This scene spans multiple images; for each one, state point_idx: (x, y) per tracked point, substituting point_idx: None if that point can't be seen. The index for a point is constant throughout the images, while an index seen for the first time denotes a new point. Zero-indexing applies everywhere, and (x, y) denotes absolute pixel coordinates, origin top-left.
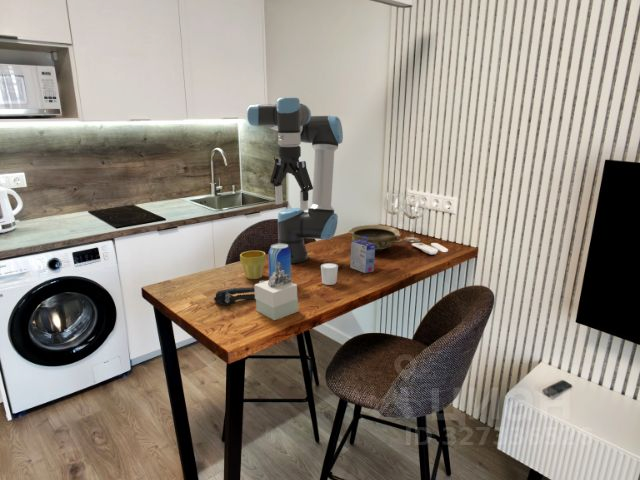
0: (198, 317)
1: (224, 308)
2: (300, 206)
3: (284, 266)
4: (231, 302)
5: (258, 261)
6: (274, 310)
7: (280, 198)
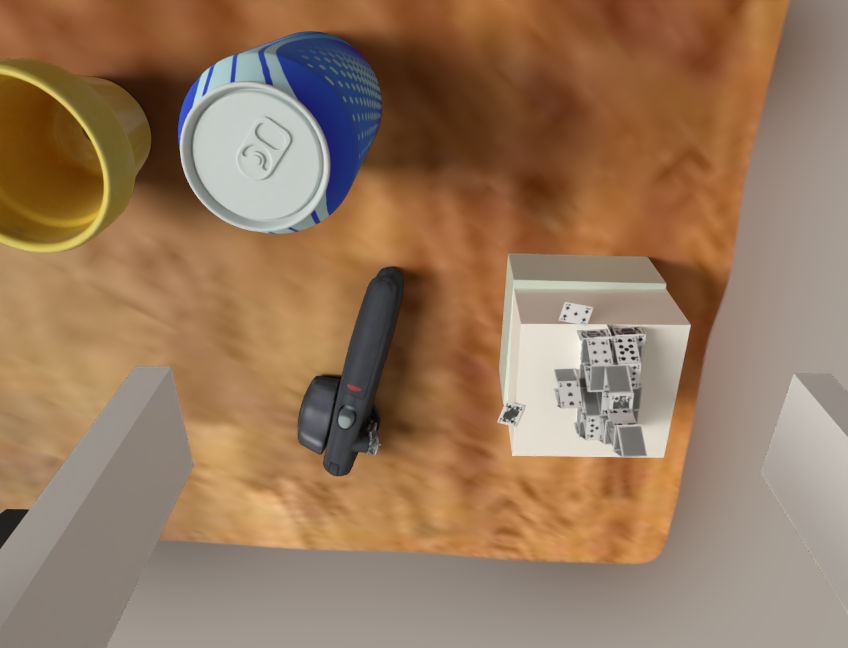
0: (393, 522)
1: (388, 437)
2: (792, 518)
3: (366, 147)
4: (376, 411)
5: (126, 176)
6: None
7: (142, 467)
